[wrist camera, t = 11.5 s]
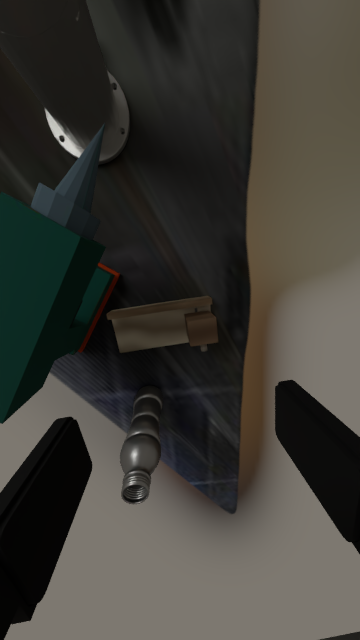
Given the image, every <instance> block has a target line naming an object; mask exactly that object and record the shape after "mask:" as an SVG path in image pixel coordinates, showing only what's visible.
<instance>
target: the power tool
mask: <svg viewBox="0 0 360 640" xmlns="http://www.w3.org/2000/svg"><path fill="white" fill-rule="evenodd" d="M104 128H105V123H104V125H103V126H102V127H101V129H100V130H99V131H98V133H97V134H96V135H95V137H94V138H93V139H92V141H91V142H90V143H89V145H88V146H87V147H86V149H85V150H84V151H83V153H82V154H81V155H80V157H79V158H78V159H77V161H76V162H75V163H74V165H73V166H72V168H71V169H70V170H69V172H68V173H67V174H66V176H65V177H64V178H63V180H62V181H61V182H60V184H59V185H58V186H57V188H56V189H55V190H54V191H53V190H52V189H50V188H48V187H47V186H45V185H43V184H41V183H39V184H38V187H37V190H36V193H35V196H34V198H33V201H32V204H31V206H30V205H28V204H26V203H24V202H22V201H20V200H18V199H16V198H14V197H11V196H9V195H7V194H5V193H3V192H1V195H0V423H2V424H3V423H4V422H5V421H6V420H7V419H8V418H9V417H10V416H11V415H13V413H15V411H17V410H18V409H19V408H20V407H21V406H22V405H23V404H24V403H26V402H27V401H28V400H29V399H30V398H31V397H32V396H33V395H34V394H35V393H36V392H38V391H39V390H40V389H41V388H42V387H43V384H44V382H45V380H46V378H47V376H48V374H49V371H50V369H51V367H52V365H53V363H54V361H55V360H56V359H58V358H60V357H62V356H64V355H66V354H68V353H69V354H72V355H74V354H75V353H76V352H77V351H79V352H82V351H83V350H84V348H85V346H86V344H87V342H88V340H89V338H90V336H91V334H92V332H93V330H94V328H95V326H96V323H97V321H98V319H99V317H100V315H101V313H102V311H103V309H104V307H105V305H106V303H107V301H108V299H109V297H110V295H111V293H112V290H113V288H114V286H115V284H116V282H117V280H118V278H119V276H120V274H119V273H117V272H116V271H114V270H112V269H110V268H108V267H107V266H105V265H103V264H101V263H99V261H100V259H101V257H102V255H103V252H104V250H105V248H106V247H105V246H103V245H101V244H100V243H98V242H96V241H94V240H93V238H94V236H95V233H96V231H97V229H98V226H99V224H100V222H101V221H100V220H99V219H97V218H96V217H94V216H93V215H91V214H90V213H91V207H92V200H93V194H94V188H95V182H96V176H97V170H98V164H99V158H100V152H101V146H102V140H103V134H104Z"/></svg>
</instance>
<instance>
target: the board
mask: <svg viewBox="0 0 360 640" xmlns="http://www.w3.org/2000/svg"><path fill="white" fill-rule="evenodd" d="M210 304H212V298H211V297H209V296H202V297H196V298H189V299H182V300H176V301H169V302H162V303H156V304H149V305H143V306H136V307H129V308H123V309H116V310H111V311H110V312H108V313H107V318H108V320H112V323H113V327H114V331H115V335H116V339H117V343H118V347H119V351H120V353H123V352H130V351H136V350H142V349H149V348H155V347H161V346H168V345H174V344H180V343H187V342H189V340H188V336H187V331H186V324H185V316H184V314H187V313H194V312H200V311H207V310H209V311H210V312H211V308H210Z"/></svg>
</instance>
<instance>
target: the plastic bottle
mask: <svg viewBox="0 0 360 640" xmlns="http://www.w3.org/2000/svg"><path fill="white" fill-rule="evenodd" d="M162 406H163V395H162V392H161V390H160V389H159V388H157V387H155V386H152V385H148V386H145V387H142V388H141V389H140V390H139V391H138V392H137V394H136V396H135V398H134V411H133V418H132V422H131V425H130V429H129V432H128V434H127V437H126V439H125V441H124V444H123V446H122V449H121V453H120V463H121V466H122V469H123V471H124V473H125V476H124V479H123V487H122V492H121V496H122V499H123V500H124V501H125V502H127V503H129V504H139V503H142V502H143V501H145V500H146V499H147V498H148V495H149V489H150V484H151V476H150V475H151V474H152V473H153V471H154V470H155V468H156V467H157V465H158V463H159V460H160V457H161V445H160V435H159V420H160V414H161V409H162Z"/></svg>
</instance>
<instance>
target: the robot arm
mask: <svg viewBox="0 0 360 640" xmlns="http://www.w3.org/2000/svg"><path fill="white" fill-rule="evenodd" d="M0 48H1V49H2V51H3V52H4V53H5V55H6V56H7V57H8V59H9V60H10V61H11V63H12V64H13V65H14V67H15V68H16V70H17V71H18V72H19V74H20V75H21V76H22V78H23V79H24V80H25V82H26V83H27V84H28V86H29V87H30V88H31V90H32V91H33V92H34V94H35V95H36V96H37V98H38V99H39V100H40V102H41V103H42V104H43V106H44V107H45V112H46V117H47V121H48V124H49V126H50V129H51V131H52V133H53V135H54V137H55V138H56V139H57V141H58V142H59V143H60V145H61V146H62V147H63V148H64V149H65V150H66V151H67V152H68V153H69V154H70V155H71V156H72V157H74V158H76V159H78V158H79V157H80V155H81V154H82V153H83V151H84V150H85V149H86V147H87V146H88V145H89V143H90V142H91V141H92V139H93V138H94V137H95V135H96V134H97V133H98V131H99V130H100V129H101V127H102V126H103V125H104V123H105V128H104V134H103V140H102V146H101V152H100V158H99V164H105V163H108V162H110V161H112V160H113V159H115V158H116V157H117V156H118V155H119V154H120V153H121V152H122V150H123V149H124V147H125V145H126V143H127V140H128V137H129V132H130V114H129V109H128V105H127V101H126V98H125V95H124V93H123V91H122V89H121V87H120V85H119V84H118V82H117V81H116V79H115V78H114V77H113V76H112V75H111V74H110V73H109V72H108V71H107V70H106V66H105V63H104V60H103V56H102V53H101V50H100V46H99V43H98V40H97V36H96V33H95V30H94V26H93V23H92V20H91V16H90V13H89V10H88V6H87V3H86V0H0ZM122 134H123V135H122ZM99 164H98V165H99ZM275 410H276V411H275V431H276V435H277V438H278V439H279V441H280V443H281V444H282V446H283V447H284V448H285V450H286V452H287V453H288V455H289V456H290V457H291V459H292V461H293V462H294V464H295V465H296V467H297V468H298V470H299V471H300V473H301V474H302V476H303V477H304V478H305V480H306V482H307V483H308V485H309V486H310V488H311V489H312V491H313V492H314V493H315V495H316V497H317V498H318V500H319V501H320V503H321V504H322V506H323V507H324V509H325V510H326V512H327V513H328V515H329V516H330V518H331V520H332V521H333V523H334V524H335V526H336V527H337V529H338V530H339V532H340V533H341V534H342V536H343V537H344V538H345V539H346V540H347V541H348V542H352V543H353V545H354V546H355V548H356V549H357V551H358V552H359V554H360V437H359V436H358V435H357V434H355V433H354V432H353V431H352V430H351V429H350V428H348V427H347V426H346V425H345V424H344V423H343V422H341V421H340V420H339V419H338V418H336V416H334V415H333V414H332V413H331V412H330V411H329V410H327V409H326V408H325V407H324V406H323V405H322V404H320V403H319V402H318V401H317V400H316V399H315V398H313V397H312V396H311V395H310V394H309V393H308V392H306V391H305V390H304V389H303V388H302V387H301V386H299V385H298V384H297V383H296V382H295V381H293V380H287V381H281V382H279V383H278V386H276V387H275ZM91 471H92V461H91V459H90V456H89V453H88V451H87V447H86V445H85V442H84V439H83V437H82V434H81V431H80V428H79V425H78V422H77V421H76V420H74V419H73V418H72V417H65V418H60V419H57V420H55V421H54V423H53V424H52V425H51V427H50V428H49V429H48V431H47V432H46V433H45V435H44V436H43V437H42V438H41V440H40V441H39V443H38V444H37V445H36V446H35V448H34V449H33V450H32V452H31V453H30V454H29V456H28V457H27V458H26V460H25V461H24V462H23V464H22V465H21V466H20V468H19V469H18V470H17V472H16V473H15V474H14V475H13V477H12V478H11V479H10V481H9V482H8V483H7V485H6V486H5V487H4V489H3V490H2V492H1V493H0V640H4V638H5V636H6V634H7V632H8V629H9V627H10V625H11V624H16V623H21V622H26V621H30V620H31V618H32V615H33V613H34V610H35V608H36V605H37V603H39V602H40V601H41V600H42V598H43V596H44V595H45V592H46V590H47V587H48V585H49V582H50V579H51V577H52V574H53V572H54V569H55V566H56V564H57V561H58V559H59V556H60V553H61V551H62V548H63V545H64V542H65V540H66V537H67V535H68V532H69V529H70V527H71V524H72V522H73V519H74V516H75V514H76V511H77V509H78V506H79V503H80V501H81V498H82V495H83V493H84V490H85V487H86V485H87V482H88V480H89V477H90V474H91ZM320 640H360V632H355V633H350V634H345V635H340V636H336V637H330V638H325V639H320Z"/></svg>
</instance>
